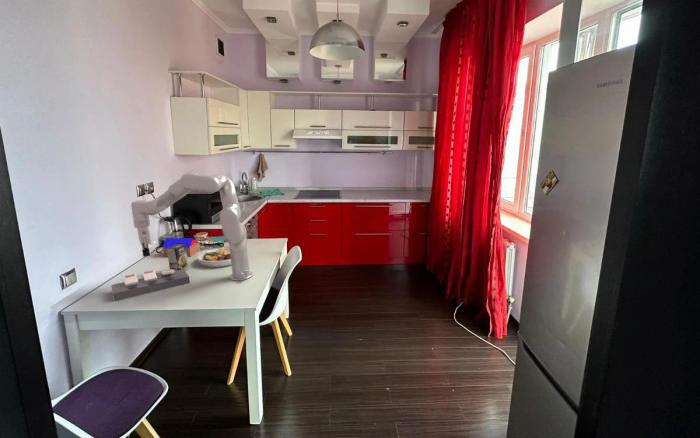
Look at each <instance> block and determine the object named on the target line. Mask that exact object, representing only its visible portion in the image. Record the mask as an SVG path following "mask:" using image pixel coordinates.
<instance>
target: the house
mask: <svg viewBox="0 0 700 438" xmlns="http://www.w3.org/2000/svg"><path fill="white" fill-rule="evenodd" d="M176 244H185V246H186V254H187V258H188V257H189V258H190V257H193V256H194V255H196V254H197V252H198V253H199V252H200V247H199V244H200V242H199V241H198V240H196V239H195V238H193V237H166V238H165V239H164V243H163V245H162V247H161V248H162V251H163V257H168V252H167V248H169V247H172V246H174V245H176ZM192 255H193V256H192Z"/></svg>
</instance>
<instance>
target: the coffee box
mask: <svg viewBox="0 0 700 438" xmlns="http://www.w3.org/2000/svg"><path fill="white" fill-rule="evenodd" d="M167 252H168V256H167V257H168V258H167V259H168V260H167V261H168V264H169V265H168V266H169V270H172V269H173V270H175V271H178V270H183V269H184V270H185V272H186V271H189V268H190V267H189V264H188V263H189V262H188V257H187V254H186V246H185V244H176V245H174V246H172V247H169V248H167Z"/></svg>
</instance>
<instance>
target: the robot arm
mask: <svg viewBox="0 0 700 438" xmlns="http://www.w3.org/2000/svg"><path fill="white" fill-rule="evenodd" d="M192 191H194V192H201V193H202V192H203V193H210V194H211V193H216V192H218V191H219V194H220V200H221V205H222V209H221V211H220V214H219V222H220V224H221V225H220V226H221V230H222V233H223V236H224V238H225V240H226V241H225V242H226V243H228V244H229V245H228V247H230V257H231V265H230V267H231V272H232V273H231V274H230V275H229V279H230V280H232V281H245V280H248V279H250V278H252V277H253V272H252V271H250V264H249V262H250V261H249V252H248V240H247V237H248V236H247V235H248V234H247V233H248V232H247V228H246V226H245V225H244V224H243V223H242V222H240V218H241V216H242V211H241V207H240V203H239V199H238V195H237V190H236V186H235V184H234V183H233V181H232V180H231V179H230V178H229V177H228V176H226V175H223V174H218V173H214V174H212V175H210V176H209V175H202V174H201V175H200V173H199V172H197V171H189V172H186V173H184V174H183V175H182V176H181V177H180V179H177V181H175V182H173V183H172V184H170V186H168V188H167V190H166V191H165V192H164V193H162V194H161V195H159V196H158V197H156V198H155V199H151V200H149V201H146V200H134V201H132V202H131V203H130V204H131V205H130V208H131V215H132V220H133V227H134V228H135V229H137V235H138V240H139V244H140V246H141V247H142V249H141V250H142V256H143V257H144V258H145V257H150V255H151V253H150V248H149V245H152V240H151V233H150V229H149V227H150V226H151V223H150V216H156V215H158V214H160V213H161V212H162V213H163V212H164V211H165V210H168V208H169V207H171V206H172V205H174V204H175V203H177V202H178V201H180V200H181V199H183V198H184V197H186V195H188V194H190V193H191V192H192Z"/></svg>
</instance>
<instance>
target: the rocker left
mask: <svg viewBox="0 0 700 438" xmlns="http://www.w3.org/2000/svg"><path fill="white" fill-rule="evenodd" d="M122 277H123V281H124V282H125V286H130V285H134V284H139V283H138V279H139V278H138V277H137V273H134V274H128V275H124V276H122Z"/></svg>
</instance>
